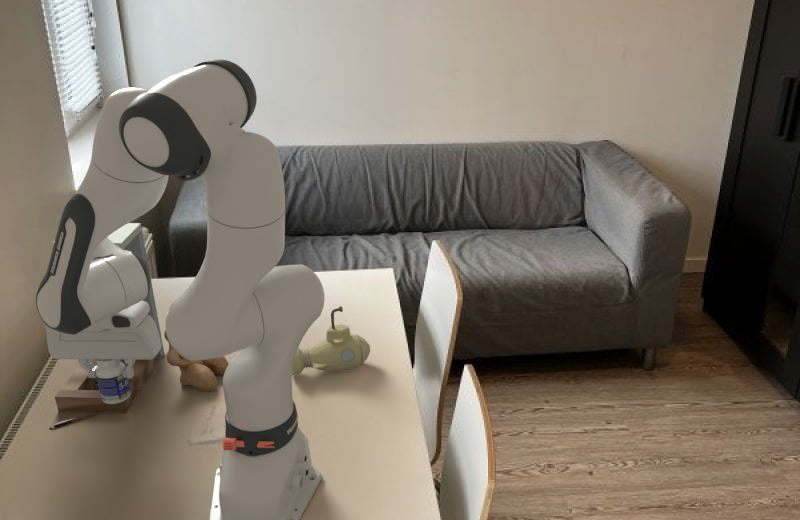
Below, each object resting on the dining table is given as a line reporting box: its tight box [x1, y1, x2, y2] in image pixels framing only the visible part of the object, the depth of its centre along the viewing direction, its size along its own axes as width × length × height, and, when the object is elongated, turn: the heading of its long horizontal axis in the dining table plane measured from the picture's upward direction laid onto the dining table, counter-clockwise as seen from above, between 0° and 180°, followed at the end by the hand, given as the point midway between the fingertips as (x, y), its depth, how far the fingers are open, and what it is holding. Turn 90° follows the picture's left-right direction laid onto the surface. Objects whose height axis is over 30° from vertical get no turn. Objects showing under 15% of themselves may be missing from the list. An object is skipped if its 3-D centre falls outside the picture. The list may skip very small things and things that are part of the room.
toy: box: [292, 305, 371, 376], centre depth 163 cm, size 9×17×15 cm, turn 105°
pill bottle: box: [96, 359, 131, 404], centre depth 145 cm, size 5×5×9 cm
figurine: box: [163, 329, 229, 392], centre depth 162 cm, size 11×9×15 cm
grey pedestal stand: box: [52, 222, 165, 359], centre depth 163 cm, size 10×14×32 cm
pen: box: [49, 411, 105, 430], centre depth 153 cm, size 11×1×1 cm, turn 122°
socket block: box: [54, 358, 155, 414], centre depth 161 cm, size 16×14×4 cm
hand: (111, 376), depth 144 cm, fingers closed on pill bottle, 5 cm apart
